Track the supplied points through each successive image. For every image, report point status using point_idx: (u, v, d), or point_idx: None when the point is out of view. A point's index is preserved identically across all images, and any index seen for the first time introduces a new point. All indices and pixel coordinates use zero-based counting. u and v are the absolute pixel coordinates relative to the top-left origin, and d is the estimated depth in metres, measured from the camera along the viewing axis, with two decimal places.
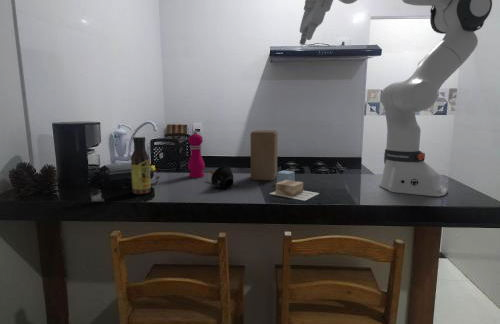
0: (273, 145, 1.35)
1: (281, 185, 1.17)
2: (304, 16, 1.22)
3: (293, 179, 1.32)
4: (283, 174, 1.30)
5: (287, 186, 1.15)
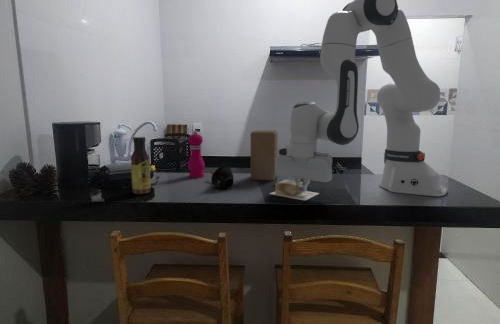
0: (273, 145, 1.35)
1: (281, 185, 1.17)
2: (280, 161, 1.17)
3: (293, 179, 1.32)
4: None
5: (287, 186, 1.15)
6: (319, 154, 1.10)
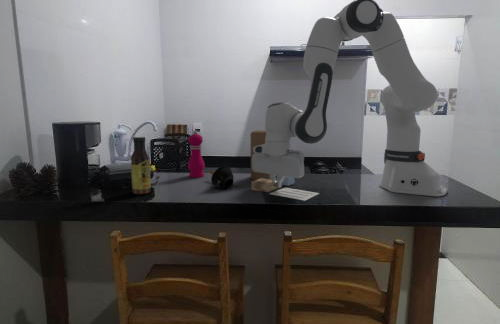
0: None
1: (257, 183, 1.22)
2: (256, 158, 1.23)
3: (293, 179, 1.32)
4: None
5: (262, 184, 1.21)
6: (292, 151, 1.16)
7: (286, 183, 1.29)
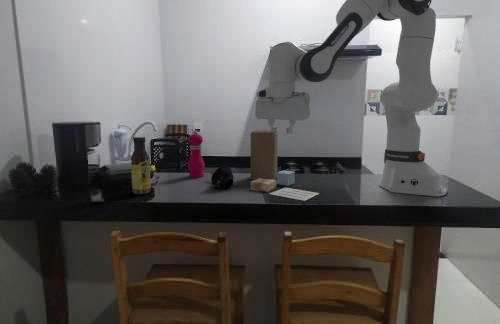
0: (273, 145, 1.35)
1: (256, 183, 1.22)
2: (260, 104, 1.19)
3: (293, 179, 1.32)
4: (283, 174, 1.30)
5: (262, 184, 1.21)
6: (297, 93, 1.11)
7: (286, 183, 1.29)
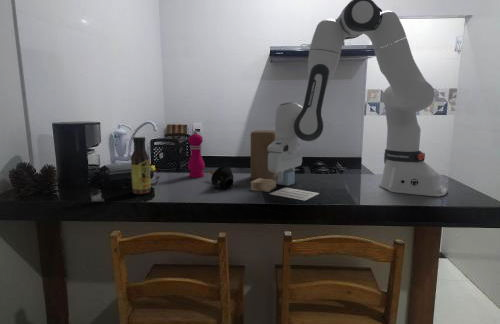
0: None
1: (256, 183, 1.22)
2: (280, 158, 1.23)
3: (293, 179, 1.32)
4: (283, 174, 1.30)
5: (262, 184, 1.21)
6: None
7: (286, 183, 1.29)
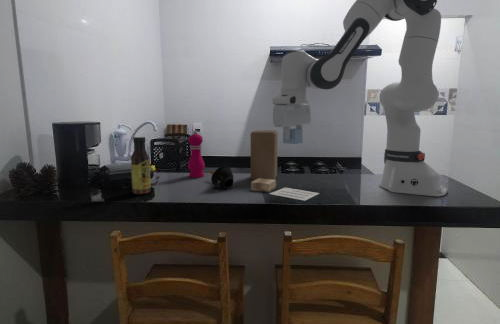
0: (273, 145, 1.35)
1: (257, 183, 1.22)
2: (286, 110, 1.12)
3: (301, 137, 1.21)
4: (290, 130, 1.18)
5: (263, 184, 1.21)
6: None
7: (293, 140, 1.18)
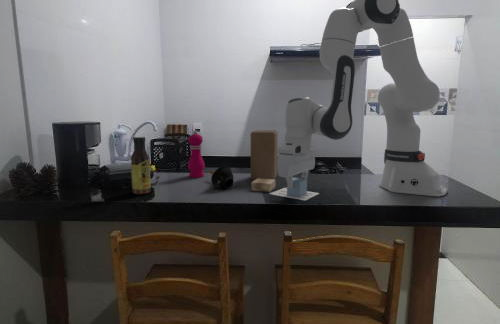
0: (273, 145, 1.35)
1: (257, 183, 1.22)
2: (291, 160, 1.08)
3: (305, 188, 1.17)
4: (294, 182, 1.14)
5: (264, 184, 1.21)
6: None
7: (298, 192, 1.14)
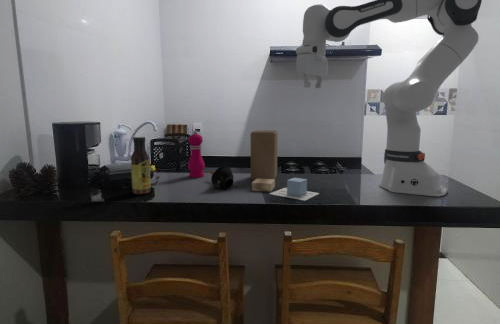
0: (273, 145, 1.35)
1: (258, 184, 1.22)
2: (309, 59, 1.23)
3: (305, 188, 1.17)
4: (294, 182, 1.14)
5: (264, 184, 1.21)
6: None
7: (298, 192, 1.14)
